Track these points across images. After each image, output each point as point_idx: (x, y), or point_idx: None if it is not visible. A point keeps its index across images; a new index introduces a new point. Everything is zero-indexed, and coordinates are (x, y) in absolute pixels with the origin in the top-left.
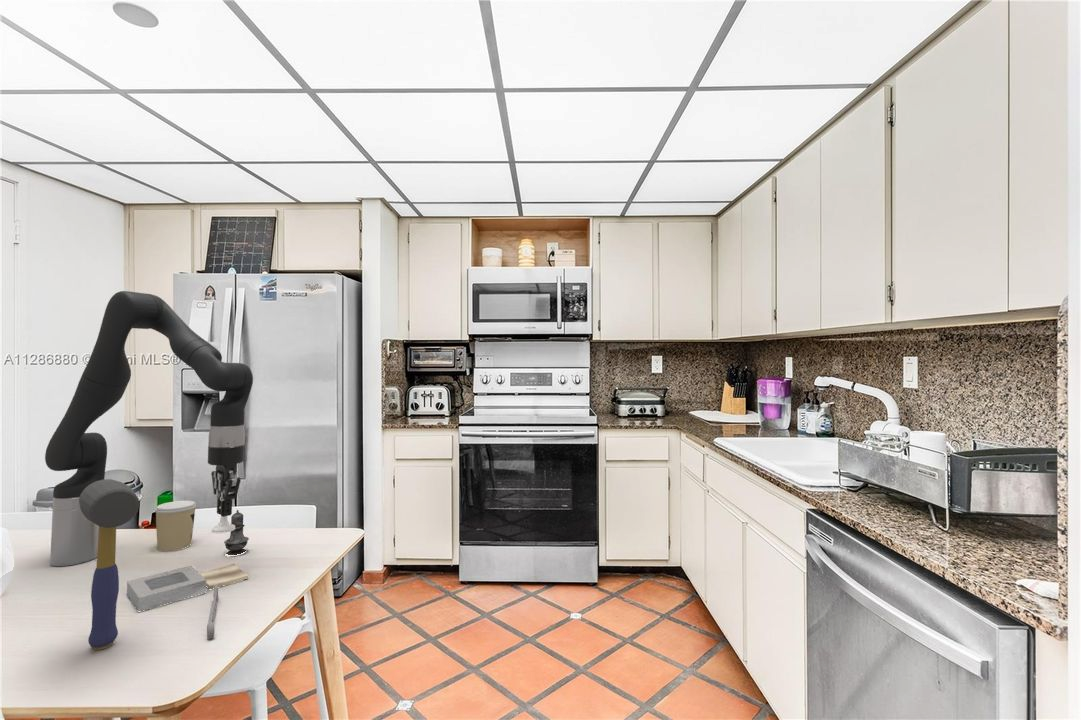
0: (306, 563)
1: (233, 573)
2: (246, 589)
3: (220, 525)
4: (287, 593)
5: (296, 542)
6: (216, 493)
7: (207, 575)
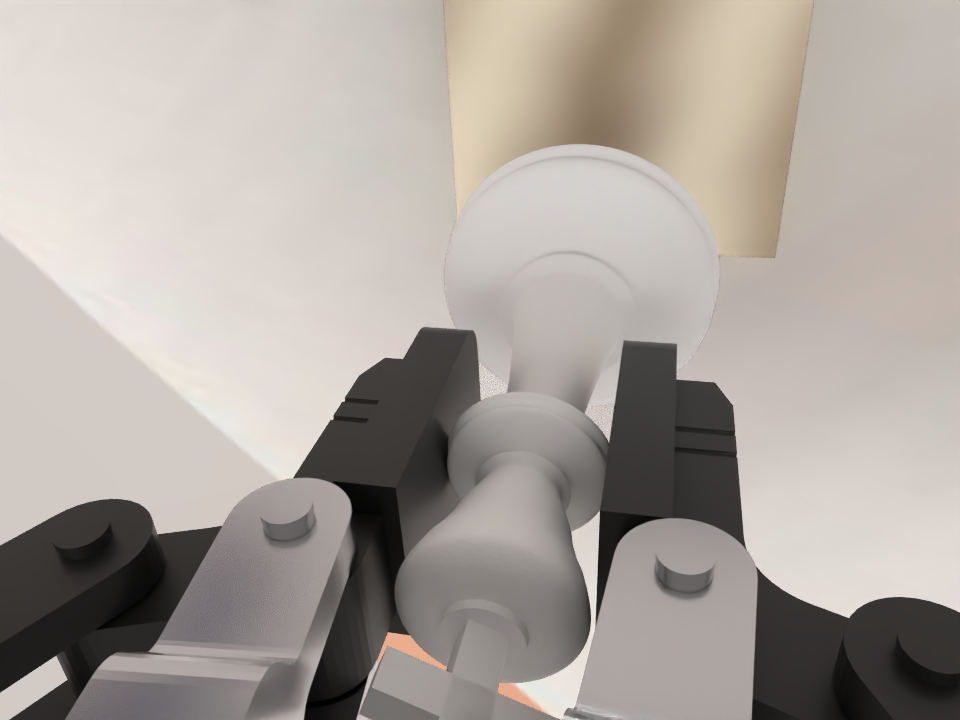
0: None
1: None
2: (306, 167)
3: (546, 267)
4: (119, 296)
5: None
6: (718, 624)
7: (691, 30)
